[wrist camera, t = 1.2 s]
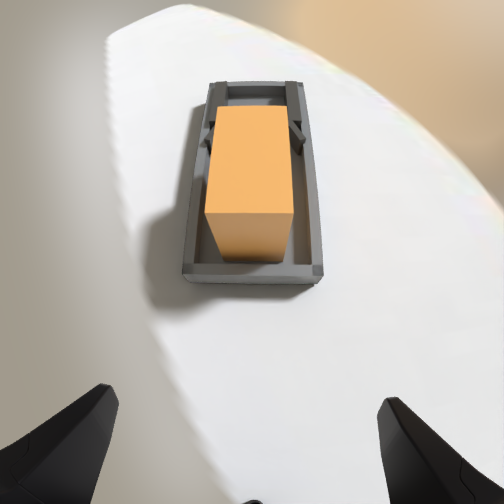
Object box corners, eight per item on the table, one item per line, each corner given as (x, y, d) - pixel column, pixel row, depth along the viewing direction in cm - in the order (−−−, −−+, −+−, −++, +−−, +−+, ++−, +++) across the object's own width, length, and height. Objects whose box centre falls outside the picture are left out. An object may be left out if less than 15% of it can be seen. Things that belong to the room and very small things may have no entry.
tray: (317, 283, 22) (325, 273, 19) (190, 282, 23) (179, 271, 20) (300, 98, 29) (303, 77, 26) (212, 99, 30) (209, 78, 27)
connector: (283, 261, 22) (293, 213, 14) (223, 260, 22) (204, 213, 15) (280, 151, 25) (284, 84, 18) (230, 151, 26) (221, 84, 18)
